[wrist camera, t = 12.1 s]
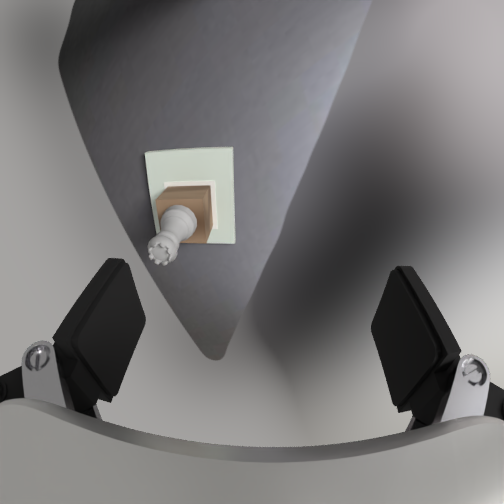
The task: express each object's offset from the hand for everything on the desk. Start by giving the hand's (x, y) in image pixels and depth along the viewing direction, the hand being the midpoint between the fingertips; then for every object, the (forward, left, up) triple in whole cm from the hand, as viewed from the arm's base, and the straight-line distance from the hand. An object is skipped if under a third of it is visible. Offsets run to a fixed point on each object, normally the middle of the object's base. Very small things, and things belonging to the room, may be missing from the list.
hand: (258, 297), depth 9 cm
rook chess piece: (+8, -10, -22) cm, 26 cm away
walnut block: (+8, -10, -27) cm, 30 cm away
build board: (+7, -10, -28) cm, 31 cm away
